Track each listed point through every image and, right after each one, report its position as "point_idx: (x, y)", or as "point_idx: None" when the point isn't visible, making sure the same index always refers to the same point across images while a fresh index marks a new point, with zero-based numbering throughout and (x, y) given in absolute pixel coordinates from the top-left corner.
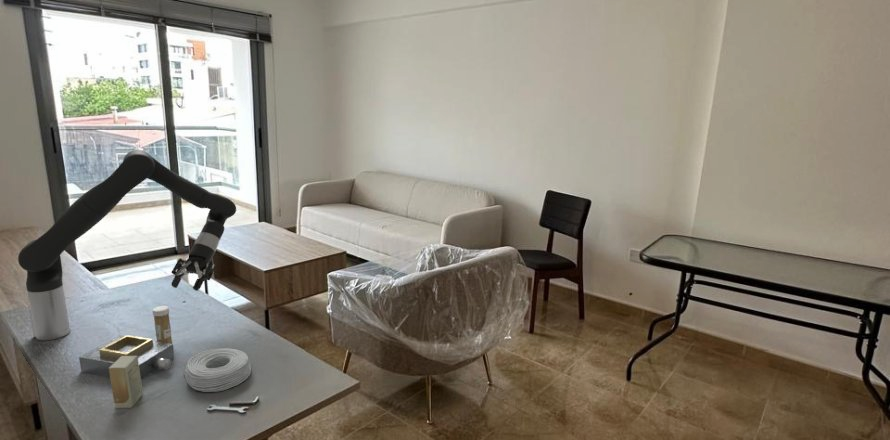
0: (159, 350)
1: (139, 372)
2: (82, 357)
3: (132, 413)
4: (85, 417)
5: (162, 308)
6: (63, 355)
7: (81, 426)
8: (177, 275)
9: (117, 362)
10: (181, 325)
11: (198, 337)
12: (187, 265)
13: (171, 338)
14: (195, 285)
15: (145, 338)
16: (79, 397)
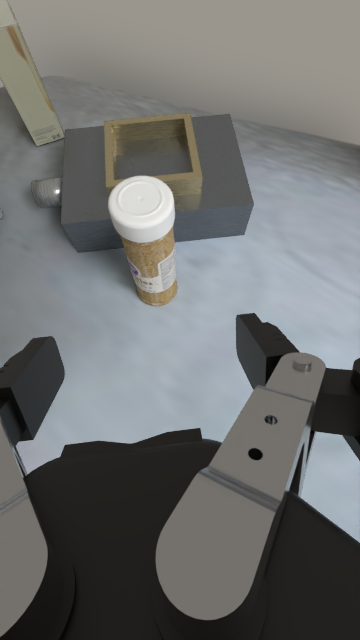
0: (69, 189)
1: (6, 89)
2: (219, 115)
3: (14, 114)
4: (80, 90)
5: (129, 199)
6: (336, 174)
7: (66, 79)
8: (279, 363)
9: (3, 10)
10: (226, 410)
11: (100, 363)
12: (222, 474)
13: (141, 292)
14: (25, 347)
15: None
16: (141, 111)
